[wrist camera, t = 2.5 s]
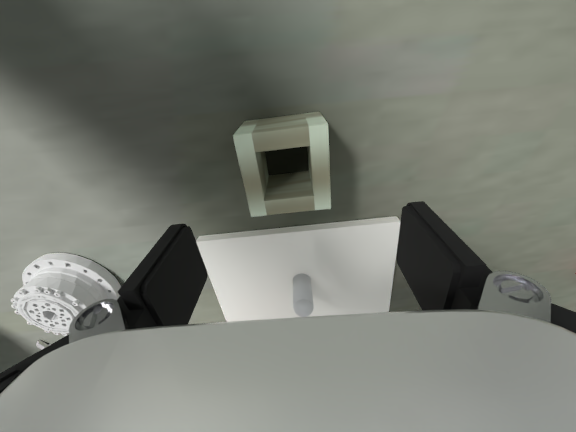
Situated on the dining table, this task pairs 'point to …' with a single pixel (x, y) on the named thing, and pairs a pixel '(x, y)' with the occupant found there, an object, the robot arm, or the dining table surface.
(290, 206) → the pale green open box
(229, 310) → the pin board
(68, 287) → the mechanical component
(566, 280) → the dining table surface
